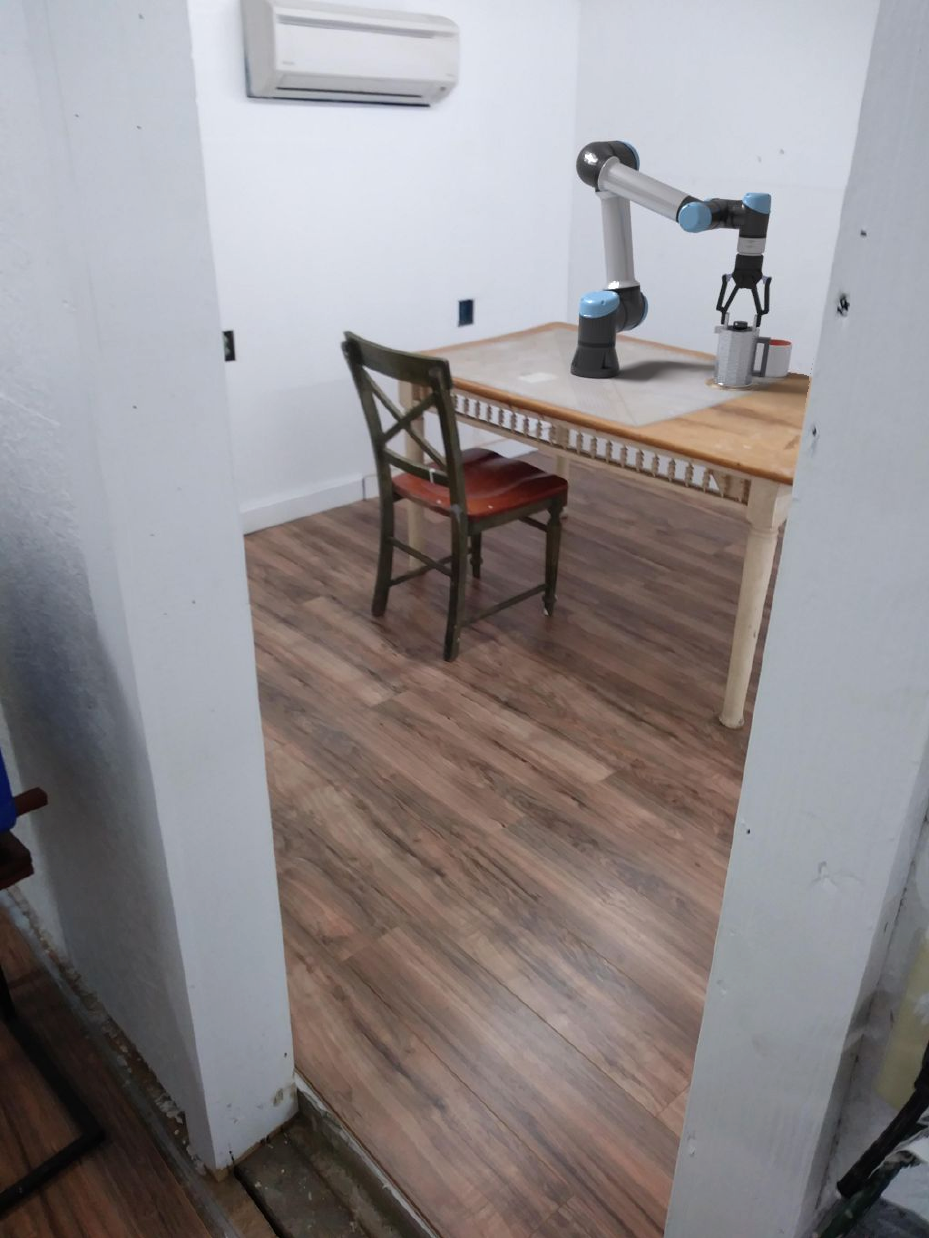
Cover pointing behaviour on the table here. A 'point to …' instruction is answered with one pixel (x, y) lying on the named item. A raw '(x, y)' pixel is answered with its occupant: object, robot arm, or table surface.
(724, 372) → the carafe
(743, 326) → the plunger
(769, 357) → the cup
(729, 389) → the trivet
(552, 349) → the table surface
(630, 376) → the table surface
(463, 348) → the table surface
